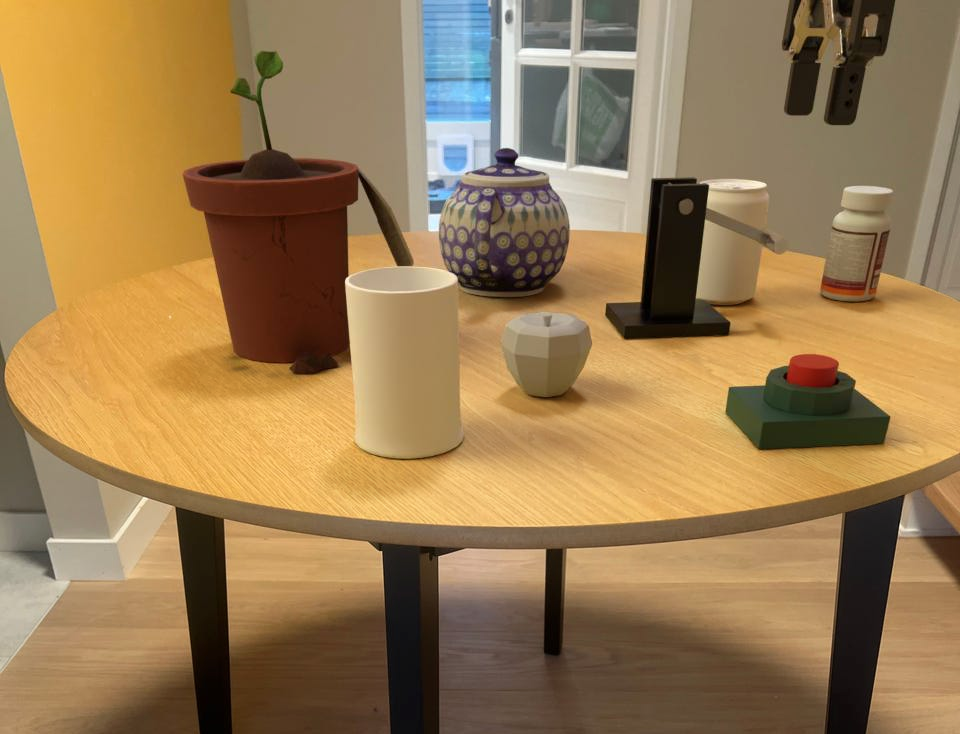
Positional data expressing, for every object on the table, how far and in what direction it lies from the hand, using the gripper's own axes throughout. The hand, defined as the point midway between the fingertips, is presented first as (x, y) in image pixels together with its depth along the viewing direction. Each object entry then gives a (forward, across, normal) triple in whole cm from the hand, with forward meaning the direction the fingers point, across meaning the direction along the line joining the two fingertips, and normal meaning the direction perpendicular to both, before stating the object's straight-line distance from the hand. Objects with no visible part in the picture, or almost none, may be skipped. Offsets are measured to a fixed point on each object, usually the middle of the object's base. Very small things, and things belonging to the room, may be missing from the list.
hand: (816, 119), depth 74 cm
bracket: (+20, +17, +5) cm, 27 cm away
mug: (+21, -10, +33) cm, 40 cm away
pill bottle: (+20, +27, -18) cm, 38 cm away
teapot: (+21, +35, +21) cm, 46 cm away
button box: (+21, -12, +2) cm, 24 cm away
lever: (+11, +18, +1) cm, 21 cm away
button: (+17, -13, +2) cm, 21 cm away
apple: (+21, -2, +21) cm, 30 cm away
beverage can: (+21, +28, -3) cm, 35 cm away
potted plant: (+21, +14, +41) cm, 48 cm away
